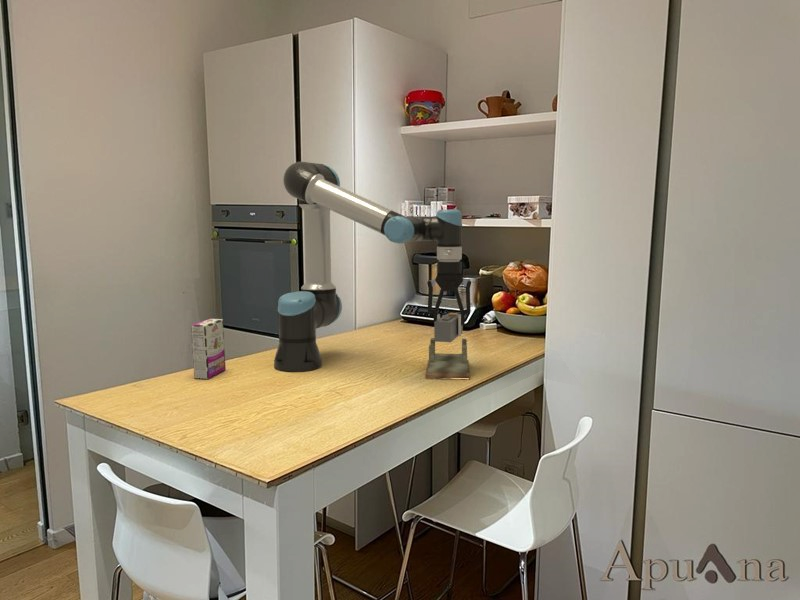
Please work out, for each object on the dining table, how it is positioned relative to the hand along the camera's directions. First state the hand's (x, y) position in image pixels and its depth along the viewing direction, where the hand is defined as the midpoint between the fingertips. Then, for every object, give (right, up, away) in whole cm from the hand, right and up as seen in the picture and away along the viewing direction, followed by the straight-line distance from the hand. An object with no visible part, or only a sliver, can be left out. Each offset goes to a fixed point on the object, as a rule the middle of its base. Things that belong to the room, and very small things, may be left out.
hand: (449, 335), depth 192 cm
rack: (0, -11, +2) cm, 11 cm away
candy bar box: (-73, -12, -3) cm, 74 cm away
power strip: (0, -1, 0) cm, 1 cm away
